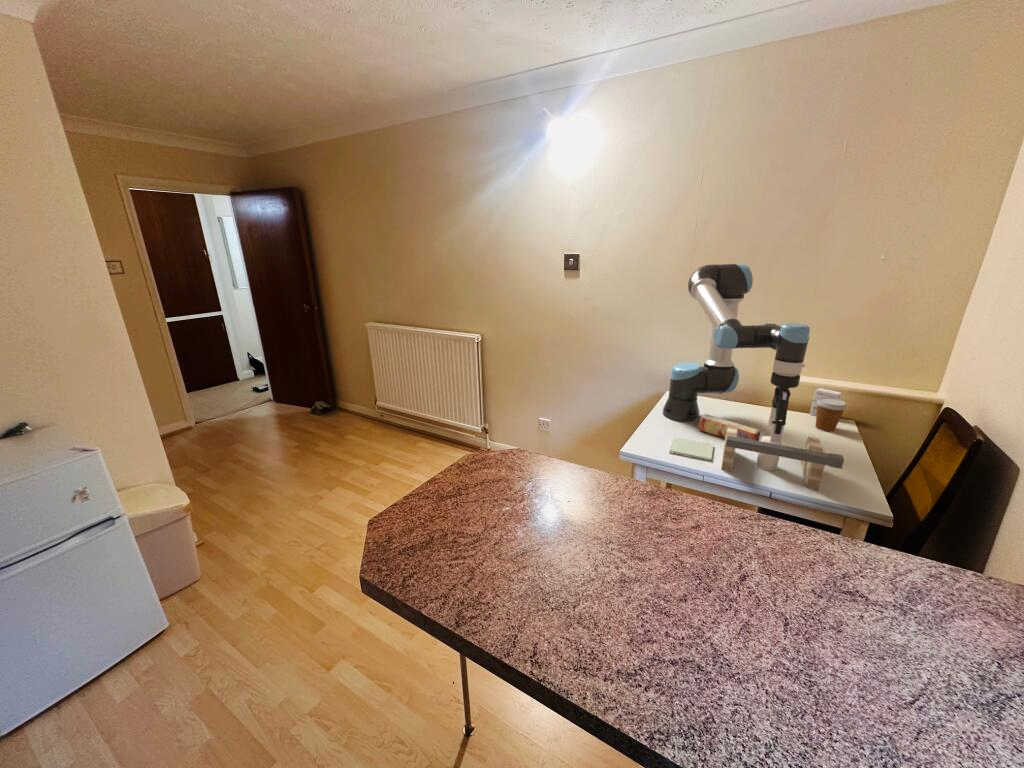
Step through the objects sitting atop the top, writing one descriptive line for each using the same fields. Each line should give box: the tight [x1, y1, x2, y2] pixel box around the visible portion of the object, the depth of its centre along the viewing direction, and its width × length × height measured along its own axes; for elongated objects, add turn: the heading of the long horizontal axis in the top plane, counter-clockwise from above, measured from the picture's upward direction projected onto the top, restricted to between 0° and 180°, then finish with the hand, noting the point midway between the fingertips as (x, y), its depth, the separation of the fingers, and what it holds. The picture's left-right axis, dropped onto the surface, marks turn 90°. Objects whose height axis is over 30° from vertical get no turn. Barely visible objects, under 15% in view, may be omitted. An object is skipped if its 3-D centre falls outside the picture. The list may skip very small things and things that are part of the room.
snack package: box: [698, 413, 761, 441], centre depth 158 cm, size 21×7×7 cm, turn 42°
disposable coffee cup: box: [815, 397, 847, 432], centre depth 162 cm, size 10×10×12 cm
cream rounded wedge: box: [756, 435, 784, 472], centre depth 136 cm, size 6×6×10 cm
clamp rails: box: [721, 423, 826, 491], centre depth 136 cm, size 16×27×11 cm, turn 61°
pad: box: [669, 436, 715, 462], centre depth 150 cm, size 12×14×1 cm
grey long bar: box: [726, 436, 845, 470], centre depth 123 cm, size 3×30×3 cm, turn 61°
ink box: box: [809, 387, 843, 417], centre depth 173 cm, size 9×5×12 cm, turn 38°
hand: (773, 433), depth 134 cm, fingers open, 13 cm apart
